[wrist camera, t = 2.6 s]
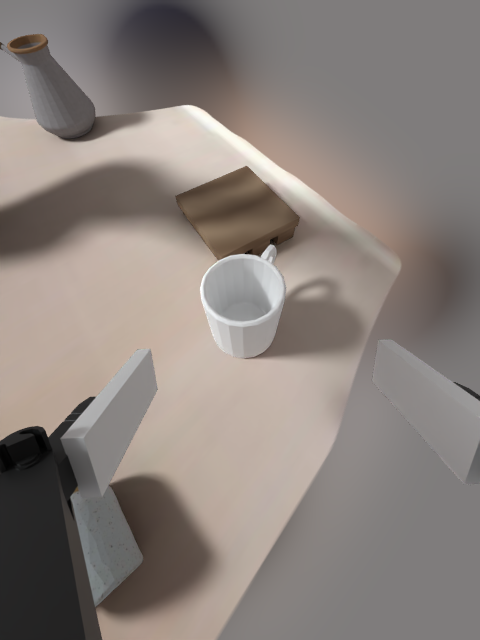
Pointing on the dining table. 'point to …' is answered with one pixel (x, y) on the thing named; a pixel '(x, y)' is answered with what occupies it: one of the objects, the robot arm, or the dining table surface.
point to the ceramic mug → (105, 542)
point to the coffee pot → (51, 89)
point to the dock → (238, 214)
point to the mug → (244, 302)
